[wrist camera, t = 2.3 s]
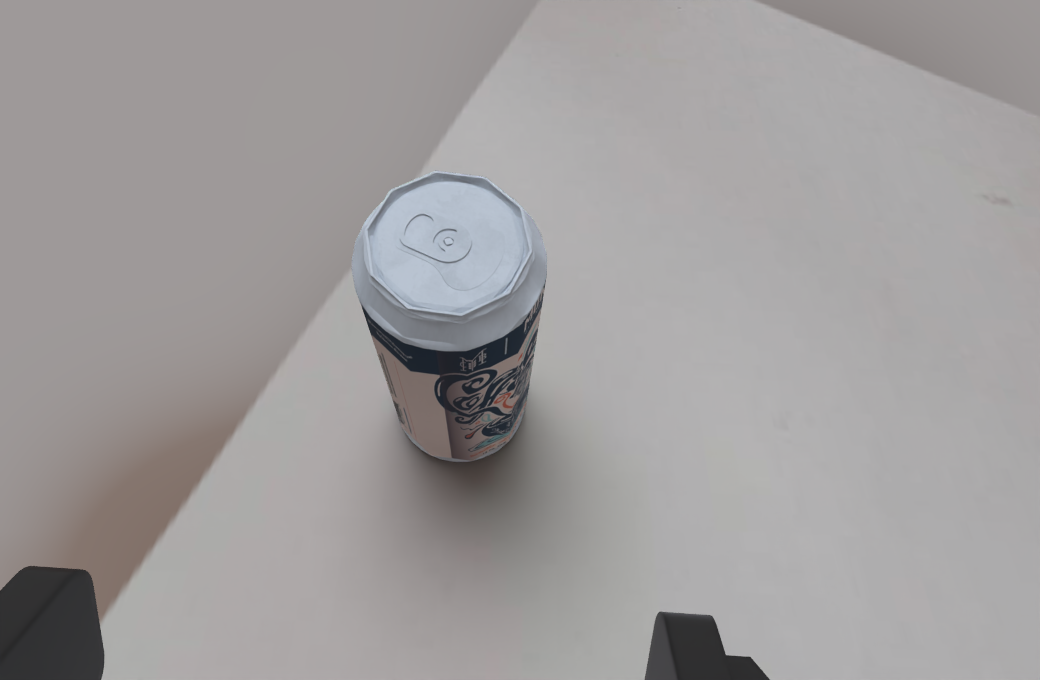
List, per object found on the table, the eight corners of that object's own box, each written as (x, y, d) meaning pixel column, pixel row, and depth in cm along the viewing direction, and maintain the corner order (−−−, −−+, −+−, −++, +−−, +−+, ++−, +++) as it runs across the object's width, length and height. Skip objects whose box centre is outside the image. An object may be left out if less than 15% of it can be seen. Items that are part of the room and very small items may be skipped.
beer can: (490, 487, 28) (495, 367, 17) (374, 432, 29) (305, 281, 18) (545, 375, 30) (582, 201, 19) (434, 325, 30) (407, 128, 19)
